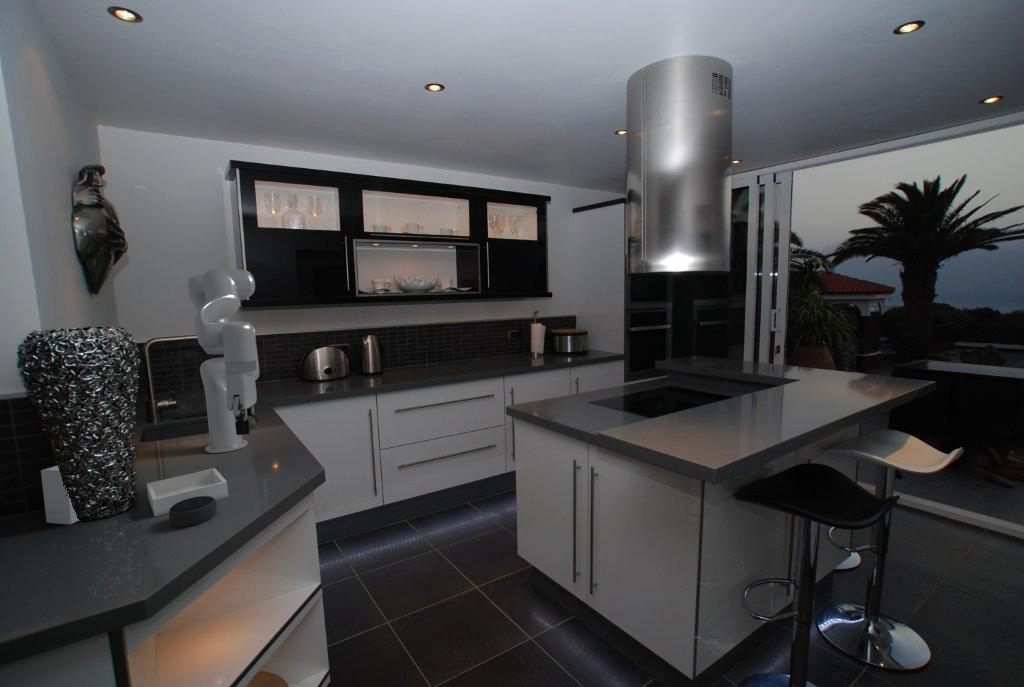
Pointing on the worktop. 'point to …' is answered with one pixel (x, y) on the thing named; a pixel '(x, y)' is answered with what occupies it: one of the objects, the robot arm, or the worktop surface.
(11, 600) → the worktop surface
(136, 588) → the worktop surface
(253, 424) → the lime
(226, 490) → the bin
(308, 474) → the worktop surface
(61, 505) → the grey tall block
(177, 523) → the smart speaker
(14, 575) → the worktop surface
